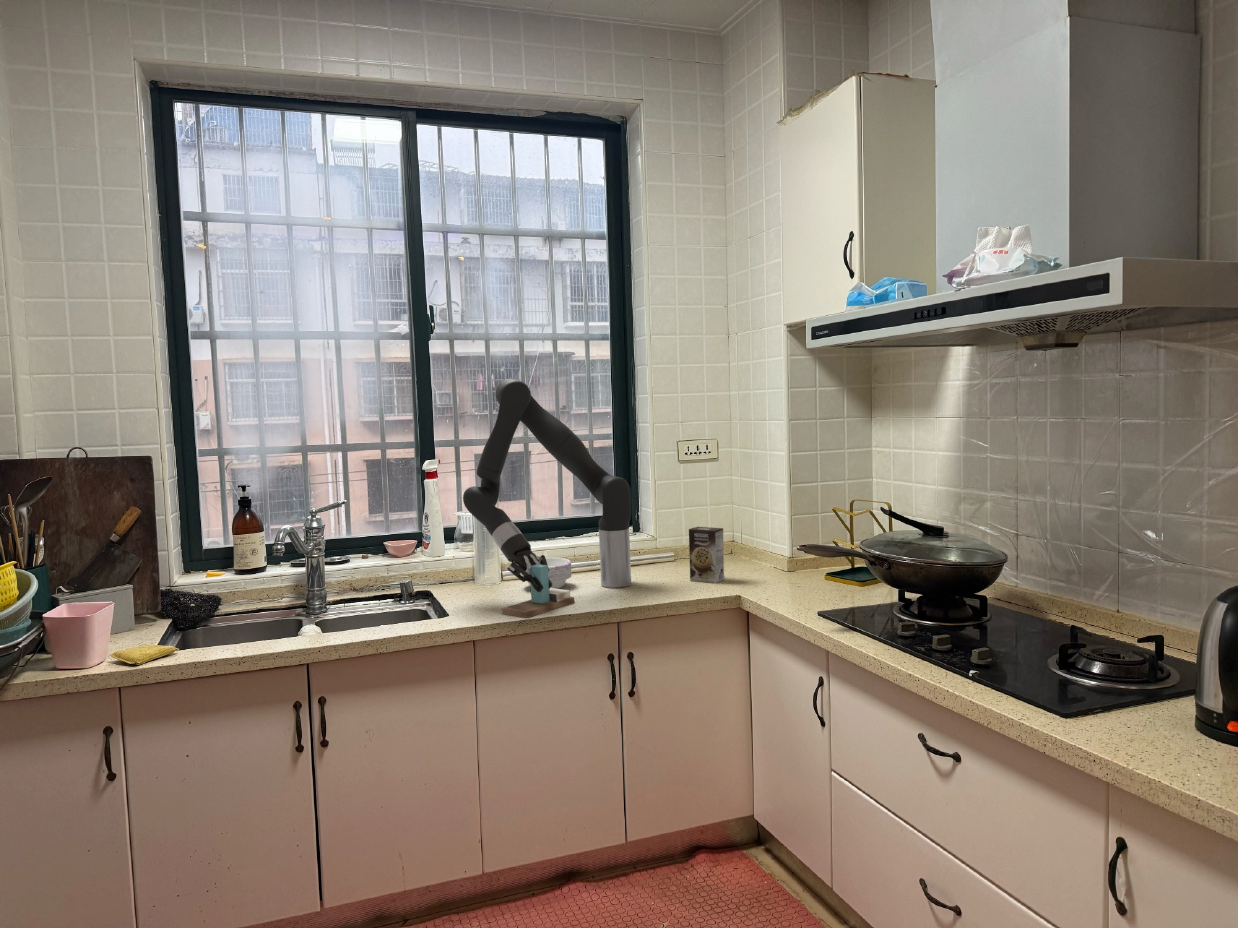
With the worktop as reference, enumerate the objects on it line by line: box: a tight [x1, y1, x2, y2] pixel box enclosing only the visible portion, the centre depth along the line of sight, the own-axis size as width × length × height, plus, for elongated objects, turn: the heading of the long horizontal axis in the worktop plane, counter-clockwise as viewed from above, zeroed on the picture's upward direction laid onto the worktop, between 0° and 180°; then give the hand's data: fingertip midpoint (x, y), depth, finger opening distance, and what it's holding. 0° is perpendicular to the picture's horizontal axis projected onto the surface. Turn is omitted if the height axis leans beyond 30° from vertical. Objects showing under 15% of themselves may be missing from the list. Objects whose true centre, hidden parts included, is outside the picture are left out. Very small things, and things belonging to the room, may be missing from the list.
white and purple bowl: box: [521, 557, 573, 589], centre depth 261 cm, size 15×15×8 cm
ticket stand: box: [501, 588, 575, 619], centre depth 235 cm, size 20×9×4 cm, turn 143°
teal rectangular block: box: [530, 564, 550, 604], centre depth 235 cm, size 3×4×10 cm
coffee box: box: [688, 526, 725, 584], centre depth 261 cm, size 9×6×16 cm
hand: (545, 588), depth 234 cm, fingers closed on teal rectangular block, 3 cm apart
